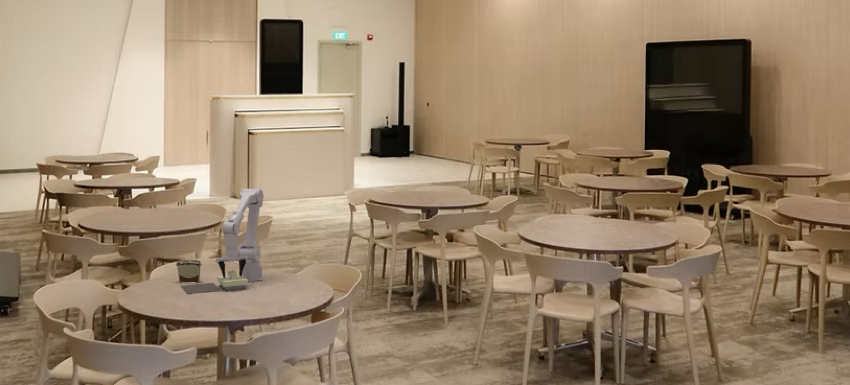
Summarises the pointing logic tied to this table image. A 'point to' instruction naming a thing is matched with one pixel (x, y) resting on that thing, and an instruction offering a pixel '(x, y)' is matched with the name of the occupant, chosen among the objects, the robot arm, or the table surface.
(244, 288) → the storage box
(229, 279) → the lid
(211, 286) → the rubber mat
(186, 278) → the food container
